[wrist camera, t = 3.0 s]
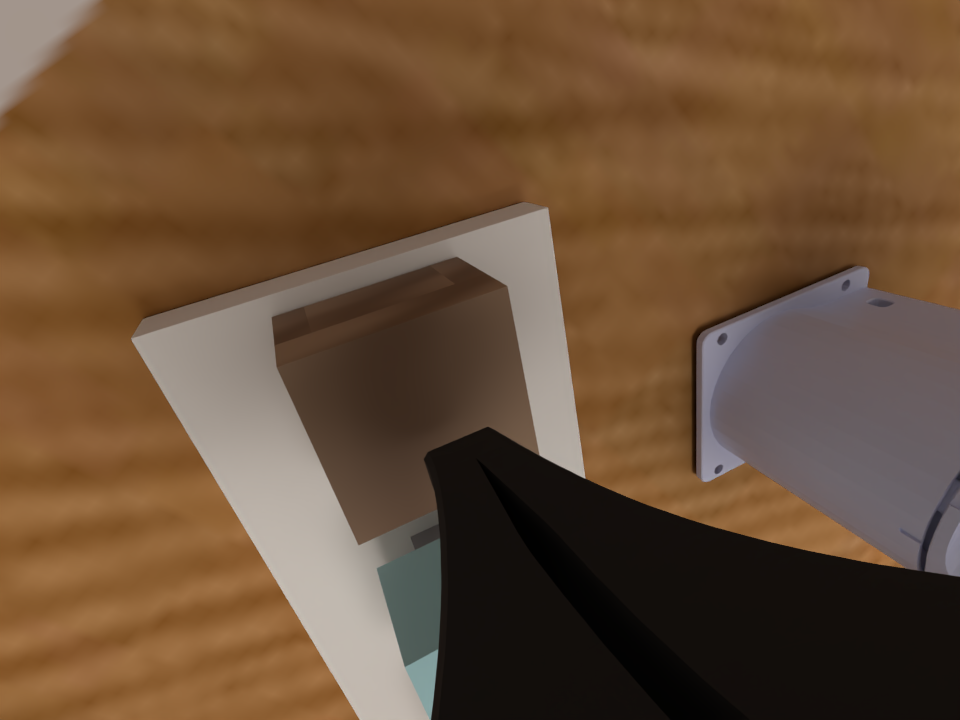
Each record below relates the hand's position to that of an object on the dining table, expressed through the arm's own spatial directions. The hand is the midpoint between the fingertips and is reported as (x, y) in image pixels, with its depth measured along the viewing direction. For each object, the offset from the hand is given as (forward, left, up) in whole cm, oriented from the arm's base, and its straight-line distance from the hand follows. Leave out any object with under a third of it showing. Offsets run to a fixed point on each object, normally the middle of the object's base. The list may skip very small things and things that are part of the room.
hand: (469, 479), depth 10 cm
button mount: (0, +7, -7) cm, 10 cm away
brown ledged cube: (0, 0, -6) cm, 6 cm away
